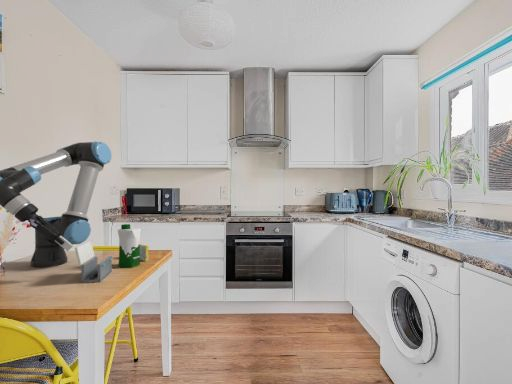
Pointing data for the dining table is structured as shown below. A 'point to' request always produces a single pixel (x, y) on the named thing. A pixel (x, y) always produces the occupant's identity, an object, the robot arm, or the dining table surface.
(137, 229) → the milk carton
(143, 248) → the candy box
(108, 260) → the stand
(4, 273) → the dining table surface
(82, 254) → the cover
